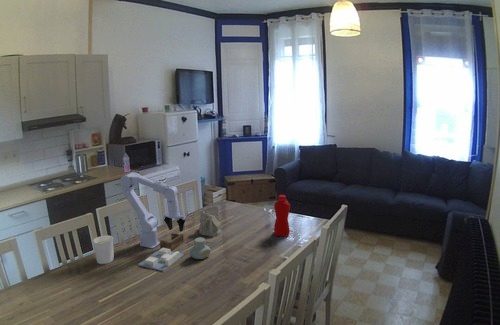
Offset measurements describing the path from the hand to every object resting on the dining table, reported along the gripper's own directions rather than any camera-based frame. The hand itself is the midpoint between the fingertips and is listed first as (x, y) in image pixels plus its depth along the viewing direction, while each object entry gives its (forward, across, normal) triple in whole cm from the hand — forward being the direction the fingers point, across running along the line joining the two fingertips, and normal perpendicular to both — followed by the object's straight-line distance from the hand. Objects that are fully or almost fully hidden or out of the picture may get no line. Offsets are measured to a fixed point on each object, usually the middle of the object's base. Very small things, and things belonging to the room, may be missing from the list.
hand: (176, 230), depth 192 cm
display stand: (+10, -2, +16) cm, 19 cm away
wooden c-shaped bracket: (+10, +4, 0) cm, 11 cm away
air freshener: (+12, -18, +4) cm, 22 cm away
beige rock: (+11, -6, -27) cm, 30 cm away
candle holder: (+8, +25, +29) cm, 39 cm away
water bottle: (+14, -48, -42) cm, 65 cm away
